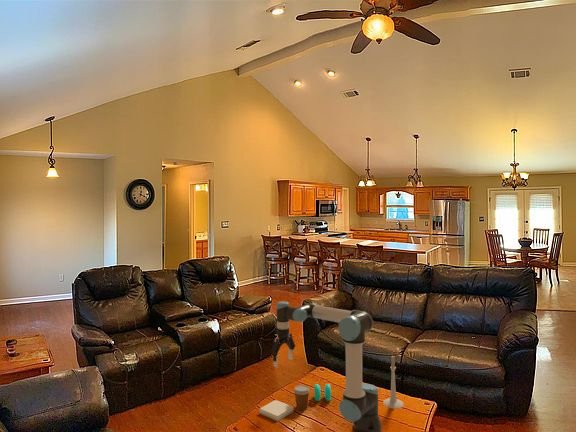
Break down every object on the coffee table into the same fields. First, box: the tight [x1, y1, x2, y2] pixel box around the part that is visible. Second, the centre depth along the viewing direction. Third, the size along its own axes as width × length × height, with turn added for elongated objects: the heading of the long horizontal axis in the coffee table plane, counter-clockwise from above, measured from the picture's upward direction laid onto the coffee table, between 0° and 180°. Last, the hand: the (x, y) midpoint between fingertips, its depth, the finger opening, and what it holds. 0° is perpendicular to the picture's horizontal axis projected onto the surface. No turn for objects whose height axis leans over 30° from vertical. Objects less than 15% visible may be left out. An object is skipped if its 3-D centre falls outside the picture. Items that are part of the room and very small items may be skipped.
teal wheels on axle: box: [313, 383, 332, 402], centre depth 256 cm, size 10×10×10 cm
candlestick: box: [382, 355, 404, 410], centre depth 249 cm, size 13×13×30 cm
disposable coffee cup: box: [293, 384, 310, 411], centre depth 246 cm, size 10×10×12 cm
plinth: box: [259, 399, 294, 422], centre depth 241 cm, size 14×14×3 cm
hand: (283, 363), depth 246 cm, fingers open, 13 cm apart
